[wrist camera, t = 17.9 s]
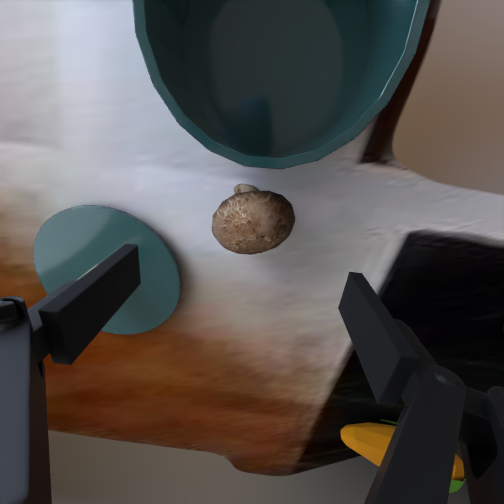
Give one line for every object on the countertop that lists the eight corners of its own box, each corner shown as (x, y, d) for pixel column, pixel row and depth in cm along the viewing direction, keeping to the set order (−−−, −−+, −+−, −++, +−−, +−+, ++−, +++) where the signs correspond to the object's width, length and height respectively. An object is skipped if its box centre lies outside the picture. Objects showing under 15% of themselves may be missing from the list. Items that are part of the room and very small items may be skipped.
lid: (11, 222, 29) (-106, 262, 20) (149, 187, 27) (87, 215, 18) (86, 336, 36) (24, 406, 27) (201, 317, 34) (177, 386, 25)
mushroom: (217, 157, 22) (227, 213, 19) (297, 169, 25) (317, 219, 22) (202, 217, 28) (208, 266, 25) (267, 220, 31) (280, 265, 28)
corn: (461, 517, 37) (334, 482, 35) (428, 457, 44) (321, 426, 42) (496, 488, 34) (362, 449, 32) (455, 430, 41) (343, 395, 39)
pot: (146, -40, 20) (75, -142, 12) (368, -128, 17) (442, -319, 10) (210, 175, 26) (188, 192, 19) (378, 133, 24) (428, 133, 16)
